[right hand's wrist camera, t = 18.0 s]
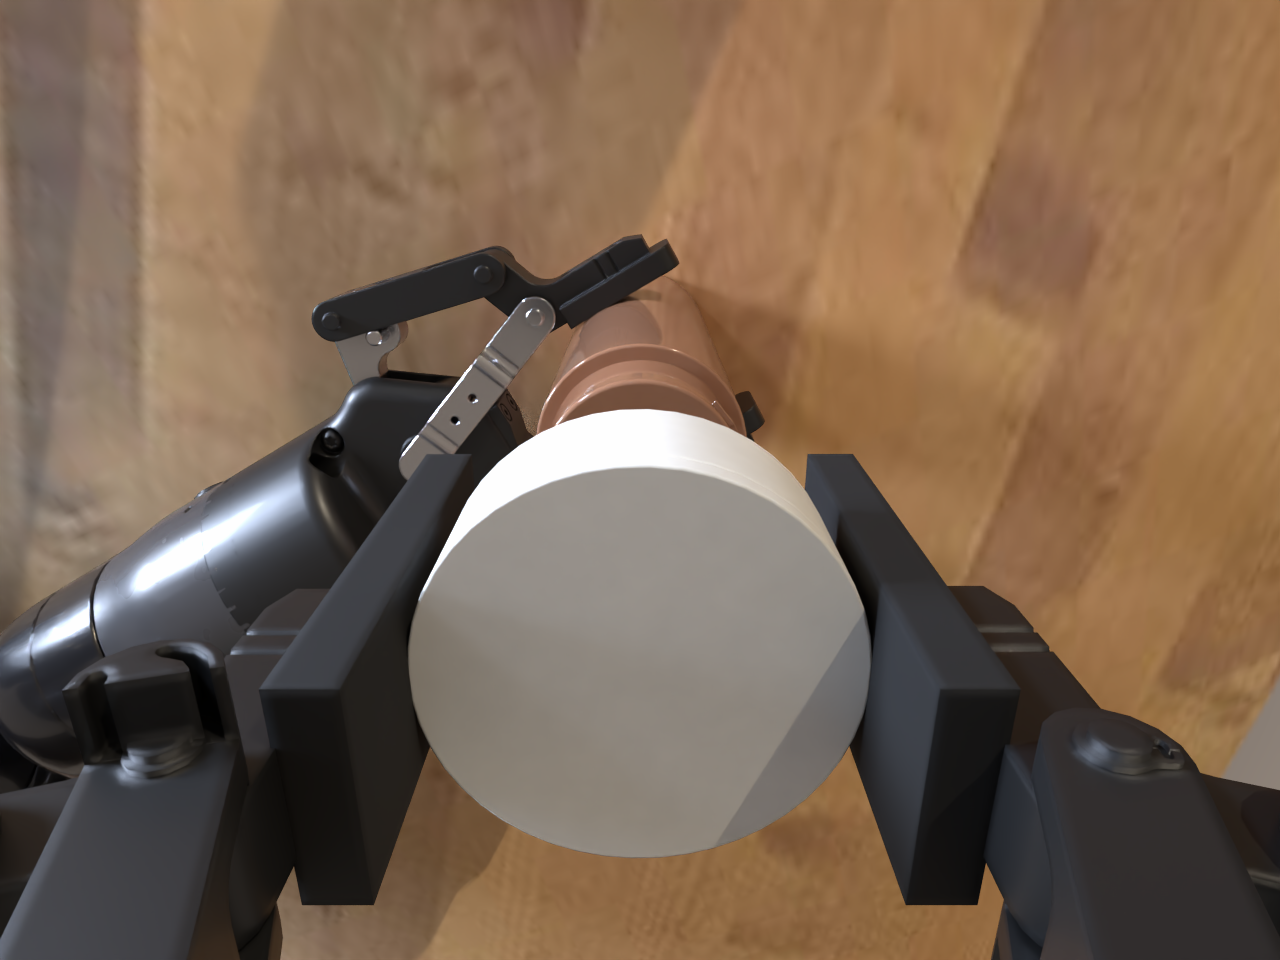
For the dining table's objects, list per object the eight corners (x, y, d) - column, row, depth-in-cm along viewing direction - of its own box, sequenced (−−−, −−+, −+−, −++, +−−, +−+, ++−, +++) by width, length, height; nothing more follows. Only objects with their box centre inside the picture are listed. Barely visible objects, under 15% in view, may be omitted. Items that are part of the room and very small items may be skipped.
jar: (632, 422, 33) (625, 623, 18) (551, 327, 32) (475, 463, 17) (729, 345, 32) (805, 494, 17) (650, 243, 31) (659, 313, 16)
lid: (859, 415, 11) (907, 474, 9) (810, 756, 13) (841, 865, 11) (436, 399, 11) (390, 455, 9) (454, 744, 13) (419, 853, 11)
